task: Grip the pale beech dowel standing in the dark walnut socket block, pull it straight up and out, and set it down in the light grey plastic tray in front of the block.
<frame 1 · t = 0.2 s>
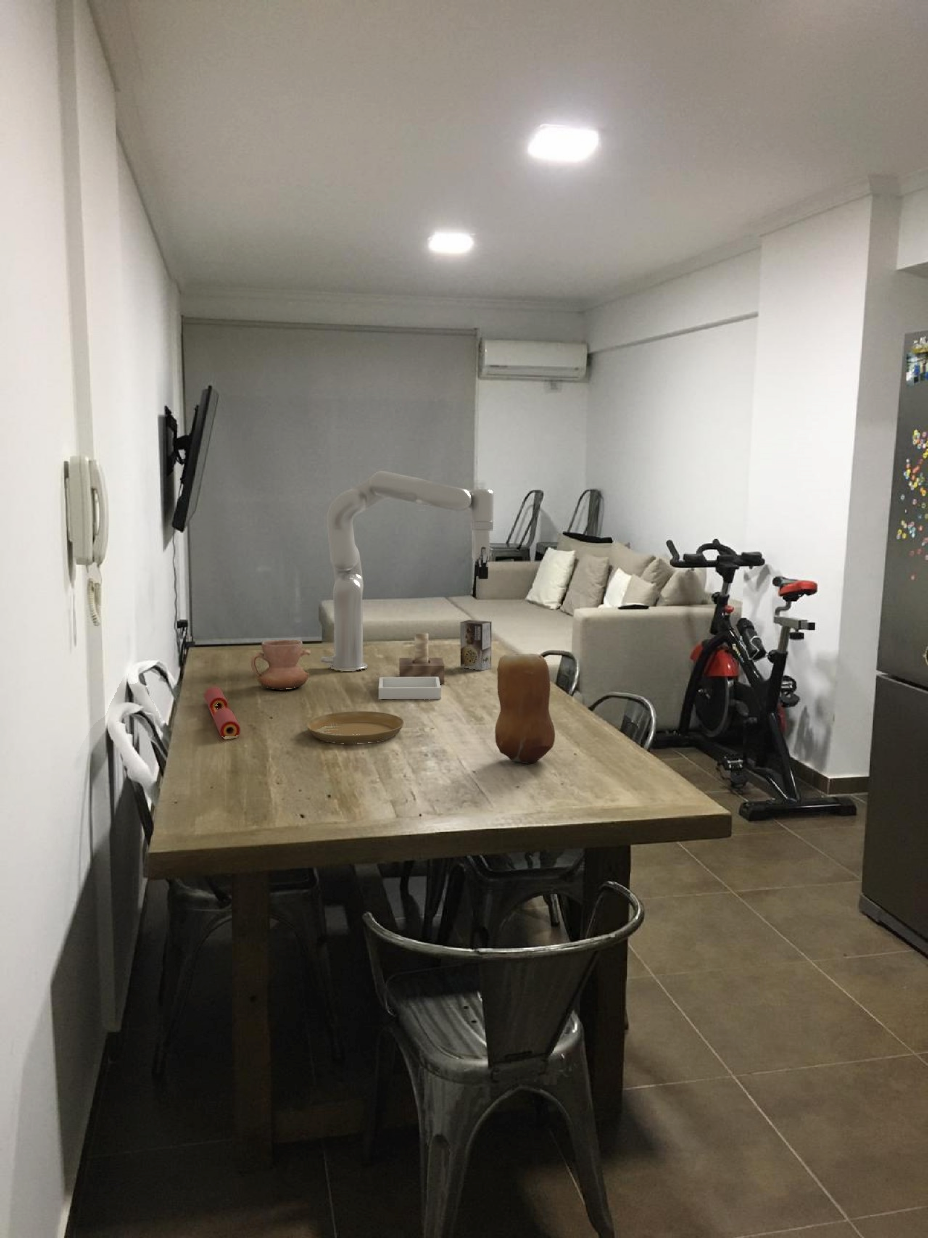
hand: (481, 577, 325), 31 cm above the table, tool pointing down, fingers open, 9 cm apart
ceramic jug: (281, 688, 296), on the table
coffee box: (475, 668, 330), on the table
dowel: (421, 657, 307), in the socket block
butternut squash: (523, 762, 219), on the table
plant saucer: (355, 735, 242), on the table
socket block: (421, 680, 308), on the table
blood vessel: (221, 721, 255), on the table
tray: (409, 693, 288), on the table
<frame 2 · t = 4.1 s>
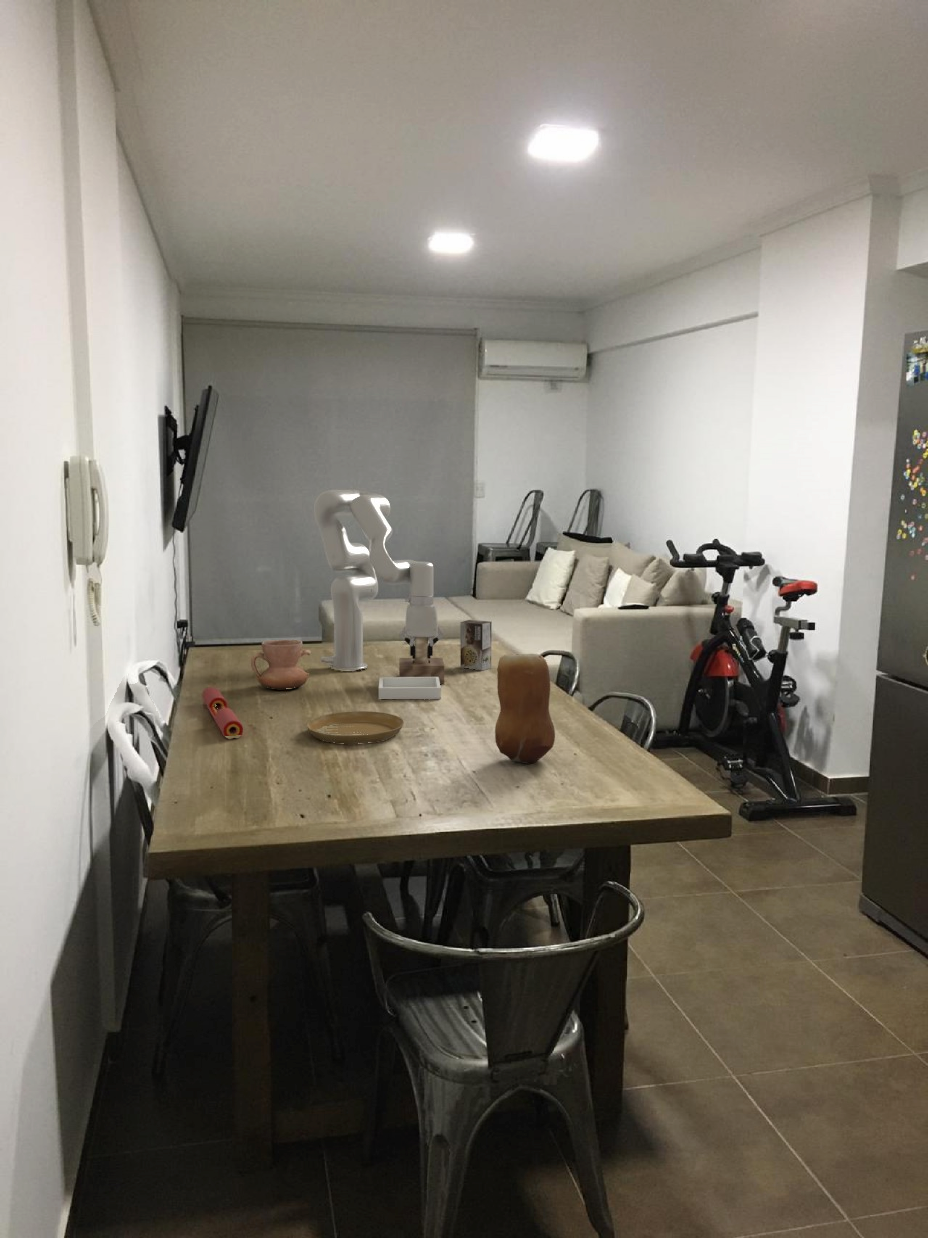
hand: (421, 657, 307), 7 cm above the table, tool pointing down, fingers closed on dowel, 4 cm apart
dowel: (421, 657, 307), in the socket block, touching gripper
everything else where it was.
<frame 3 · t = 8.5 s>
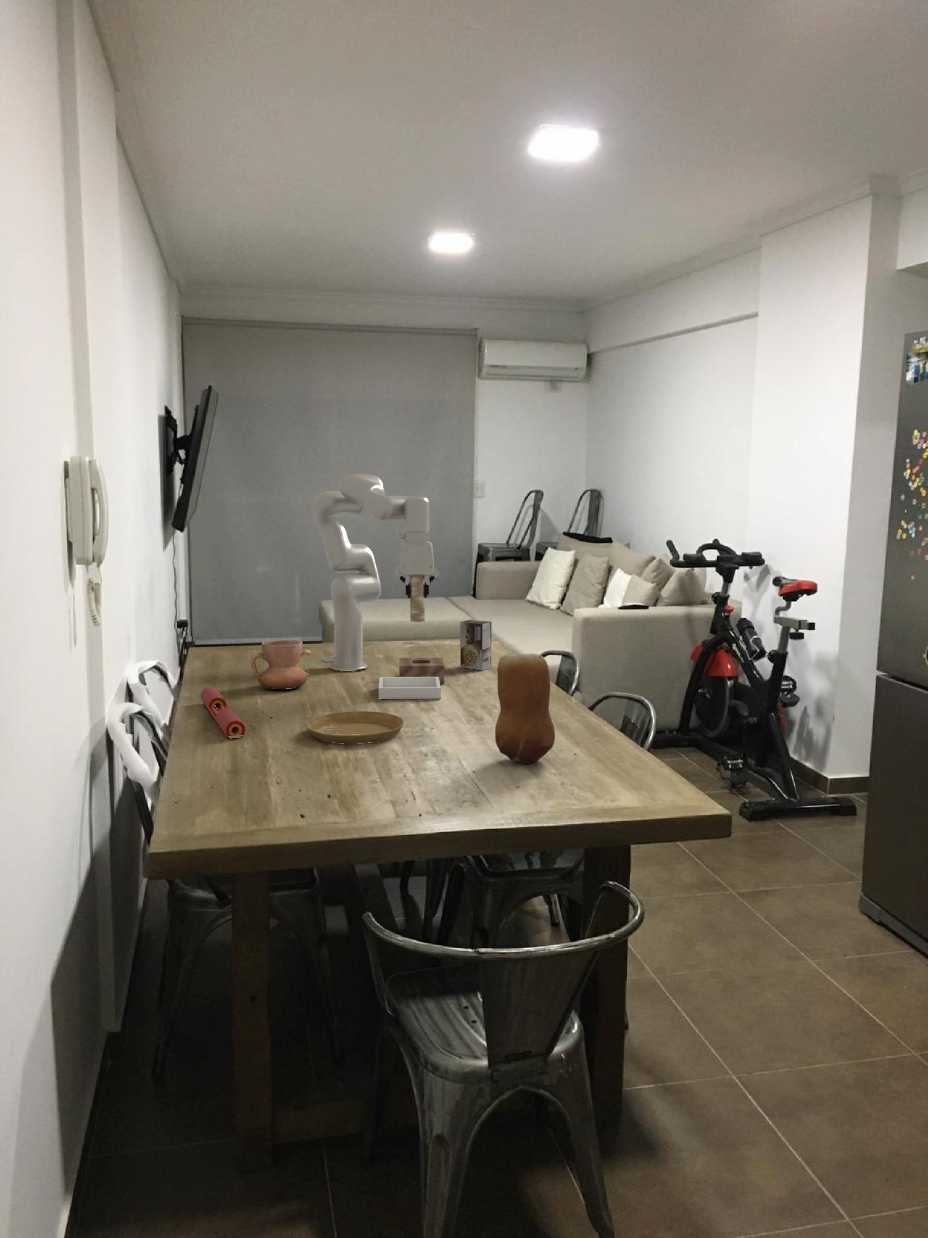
hand: (417, 596, 296), 28 cm above the table, tool pointing down, fingers closed on dowel, 4 cm apart
dowel: (417, 596, 296), point 28 cm above the table, touching gripper
everything else where it was.
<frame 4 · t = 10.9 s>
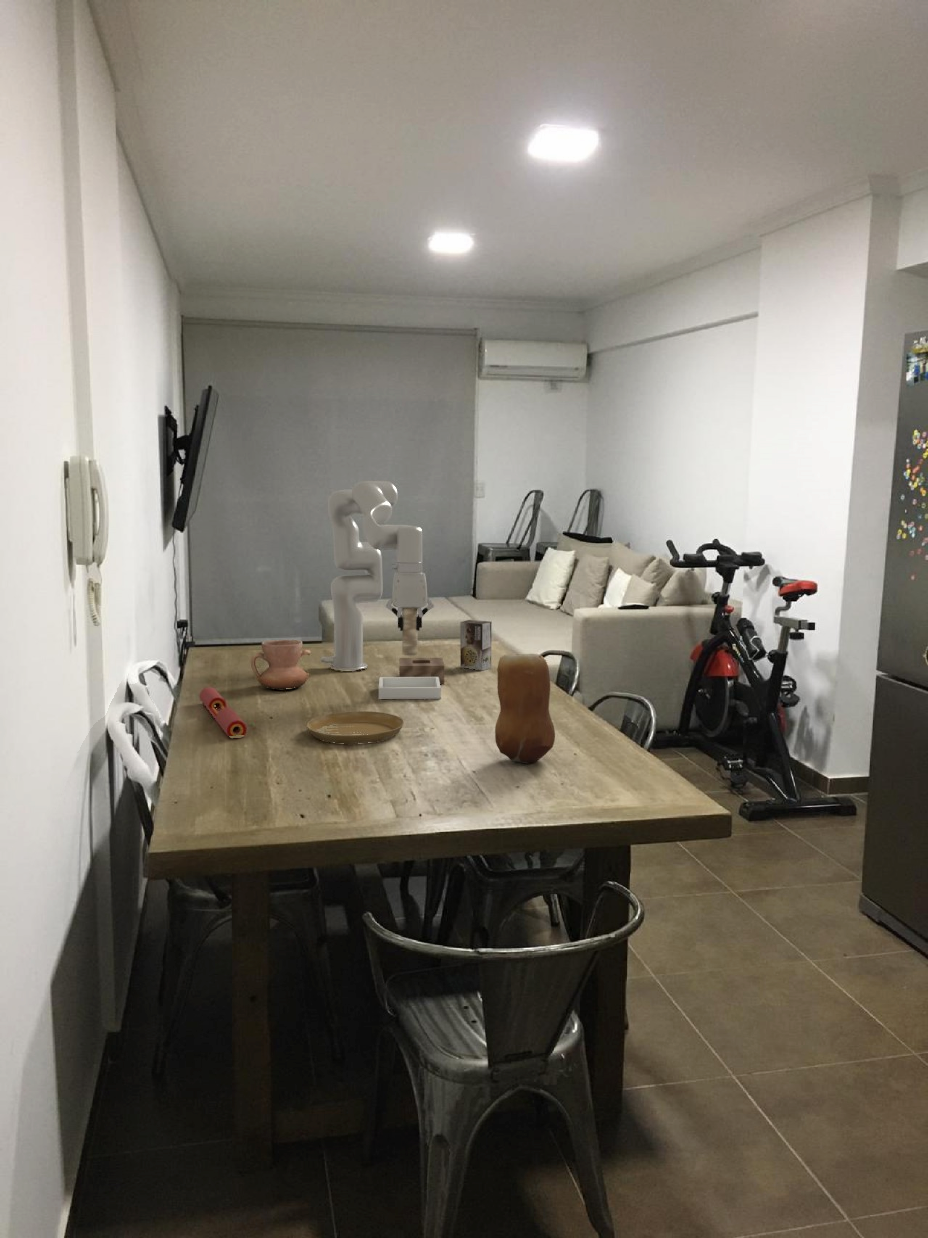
hand: (409, 629, 286), 19 cm above the table, tool pointing down, fingers closed on dowel, 4 cm apart
dowel: (409, 629, 286), point 20 cm above the table, touching gripper
everything else where it was.
when the fingers open (9 cm above the table, at t = 13.0 s): dowel drops 1 cm, resting on tray.
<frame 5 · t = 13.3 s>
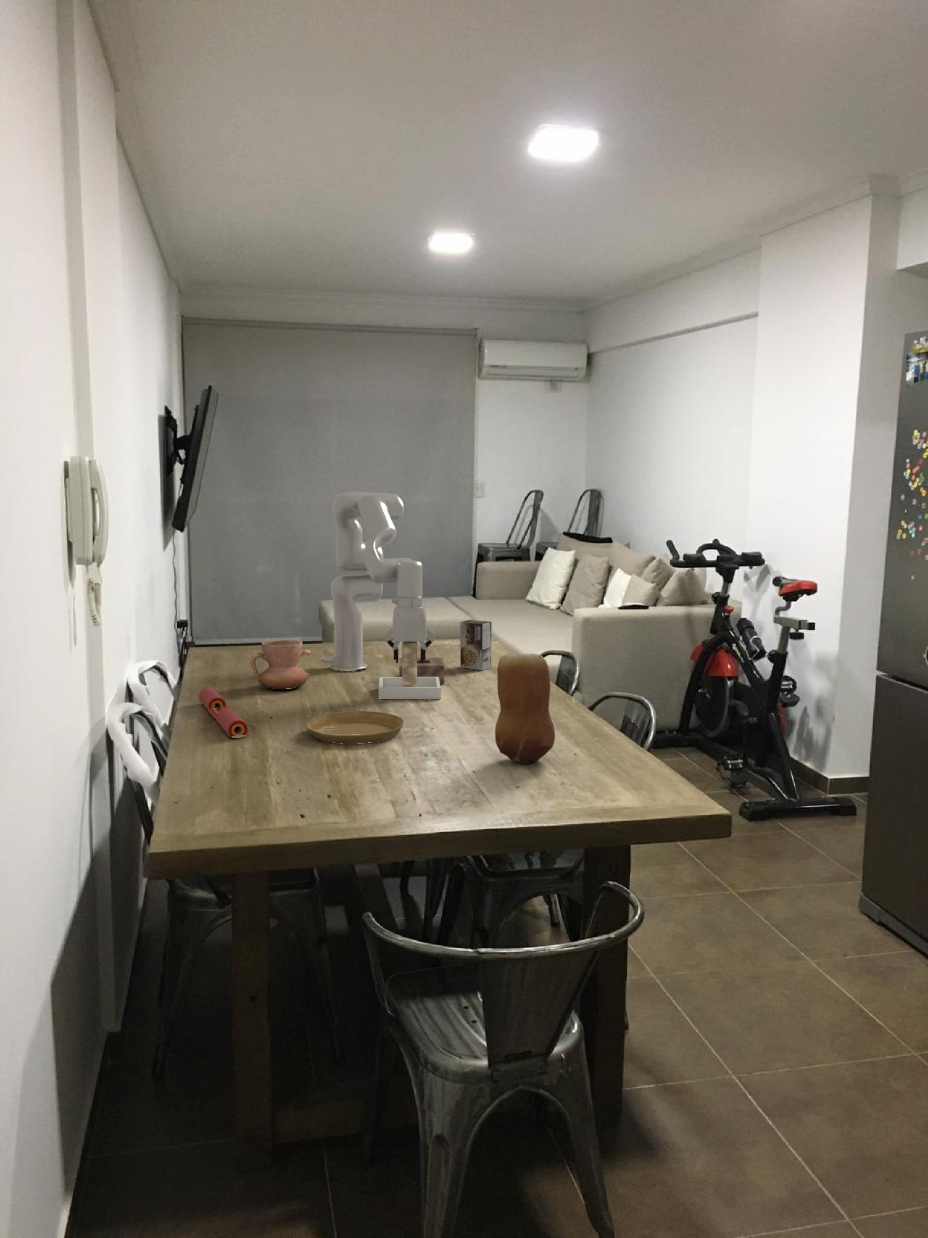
hand: (409, 661, 287), 10 cm above the table, tool pointing down, fingers open, 6 cm apart
dowel: (409, 667, 287), in the tray, point 8 cm above the table
everything else where it was.
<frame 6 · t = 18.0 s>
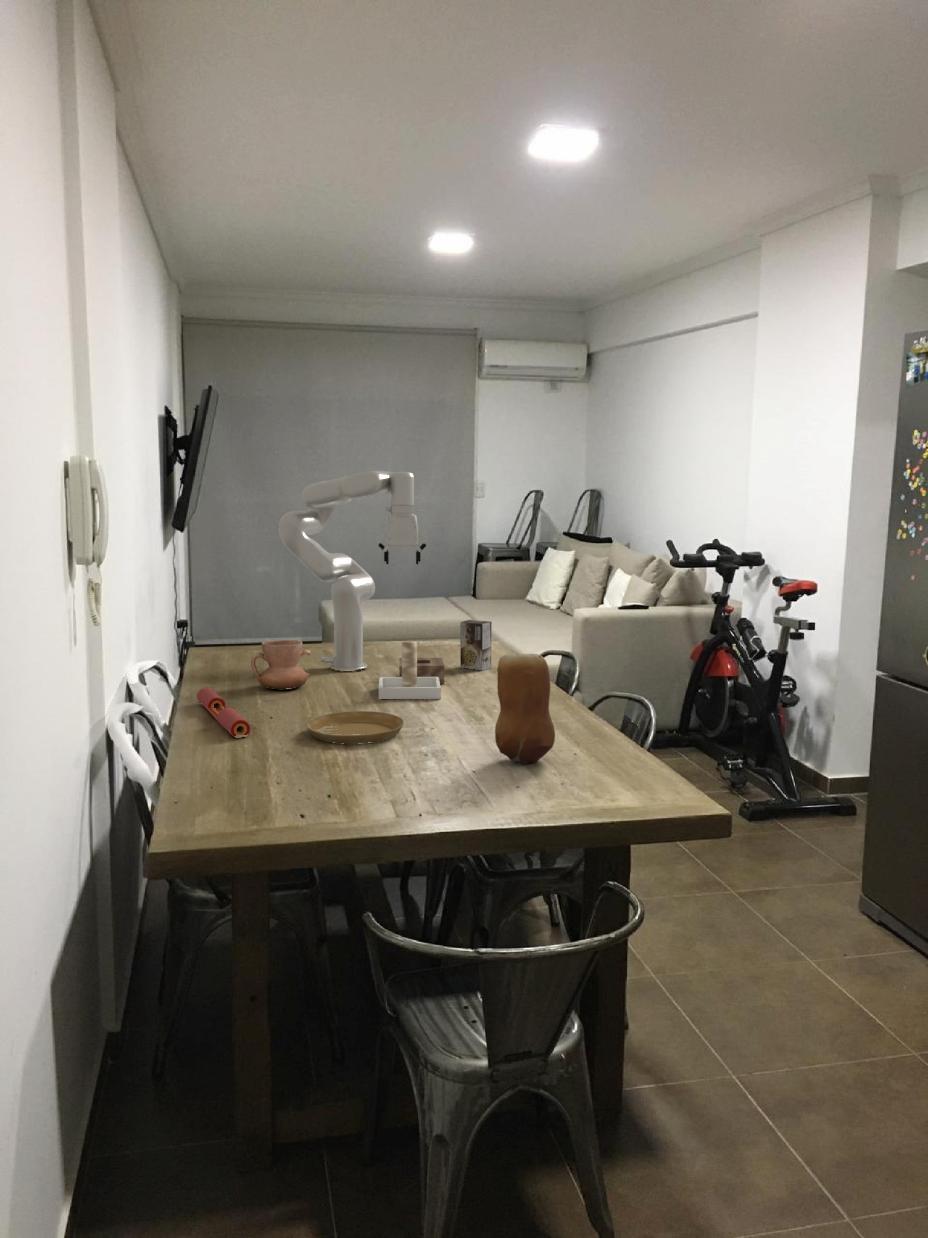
hand: (402, 563, 313), 36 cm above the table, tool pointing down, fingers open, 9 cm apart
at the end: dowel inside the target area on the tray (0.1 cm from its centre), point 8.1 cm above the tray's base; dowel moved 20.4 cm from its start; the gripper is holding nothing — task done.
